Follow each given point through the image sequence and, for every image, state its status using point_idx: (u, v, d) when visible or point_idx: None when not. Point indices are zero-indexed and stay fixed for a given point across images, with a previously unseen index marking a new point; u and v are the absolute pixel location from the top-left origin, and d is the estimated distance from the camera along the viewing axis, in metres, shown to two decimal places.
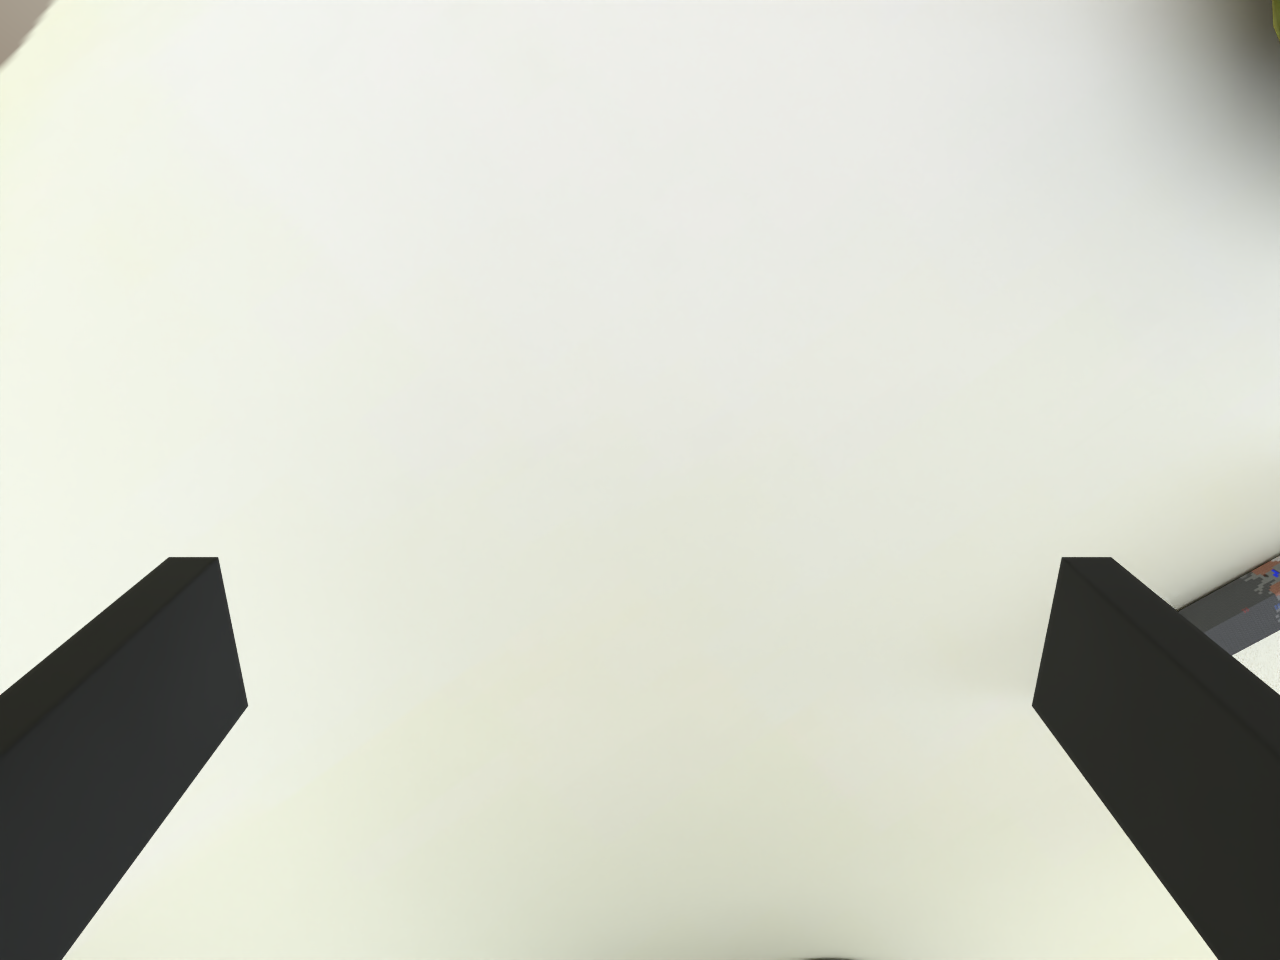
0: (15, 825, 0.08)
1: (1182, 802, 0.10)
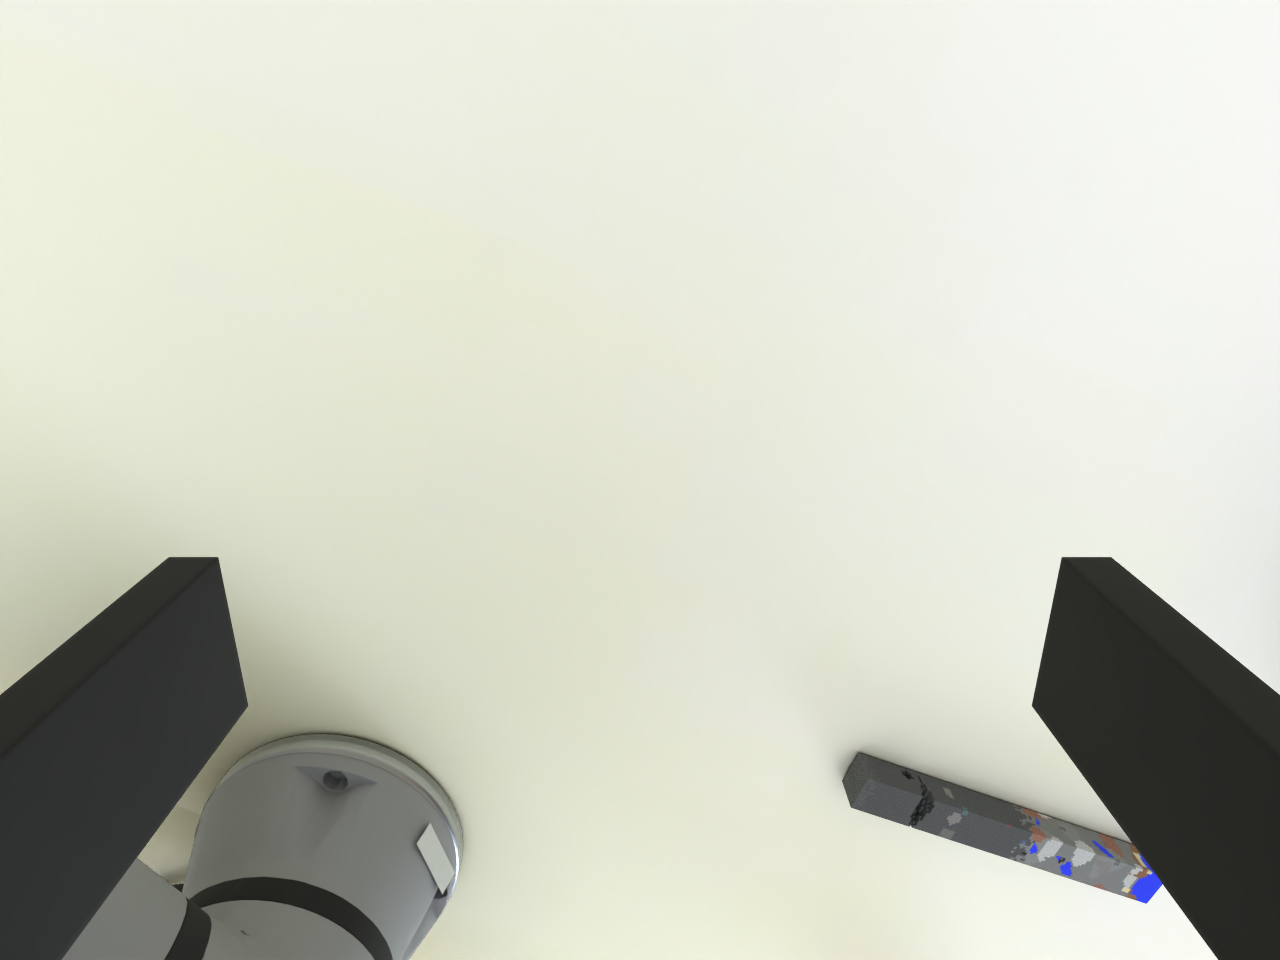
0: (15, 825, 0.08)
1: (1182, 802, 0.10)
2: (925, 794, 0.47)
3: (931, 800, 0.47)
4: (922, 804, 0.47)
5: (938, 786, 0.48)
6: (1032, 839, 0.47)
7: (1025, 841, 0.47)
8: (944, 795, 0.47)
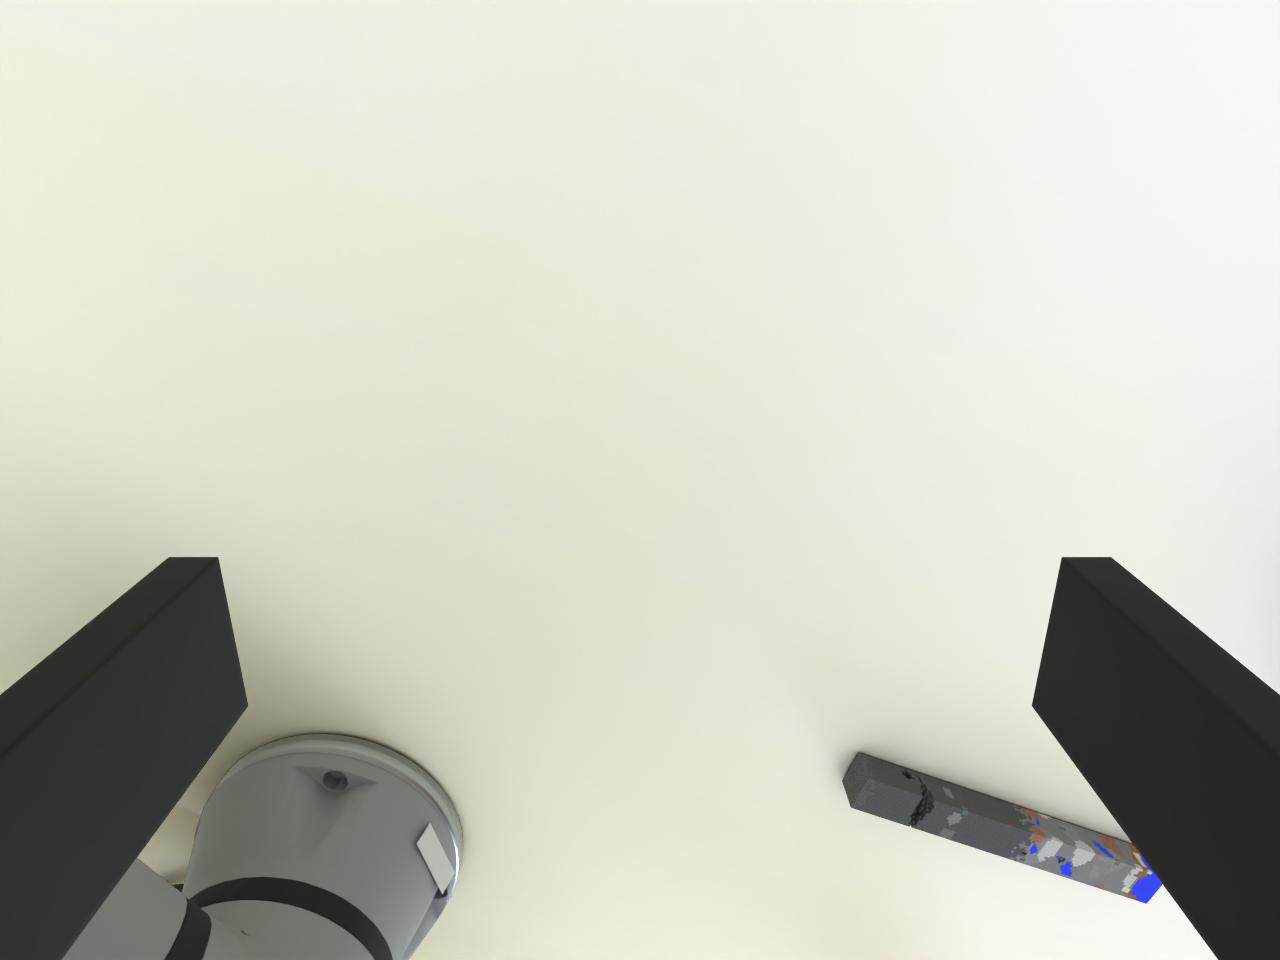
0: (15, 825, 0.08)
1: (1182, 802, 0.10)
2: (925, 794, 0.47)
3: (931, 800, 0.47)
4: (922, 804, 0.47)
5: (938, 786, 0.48)
6: (1032, 839, 0.47)
7: (1025, 841, 0.47)
8: (944, 795, 0.47)
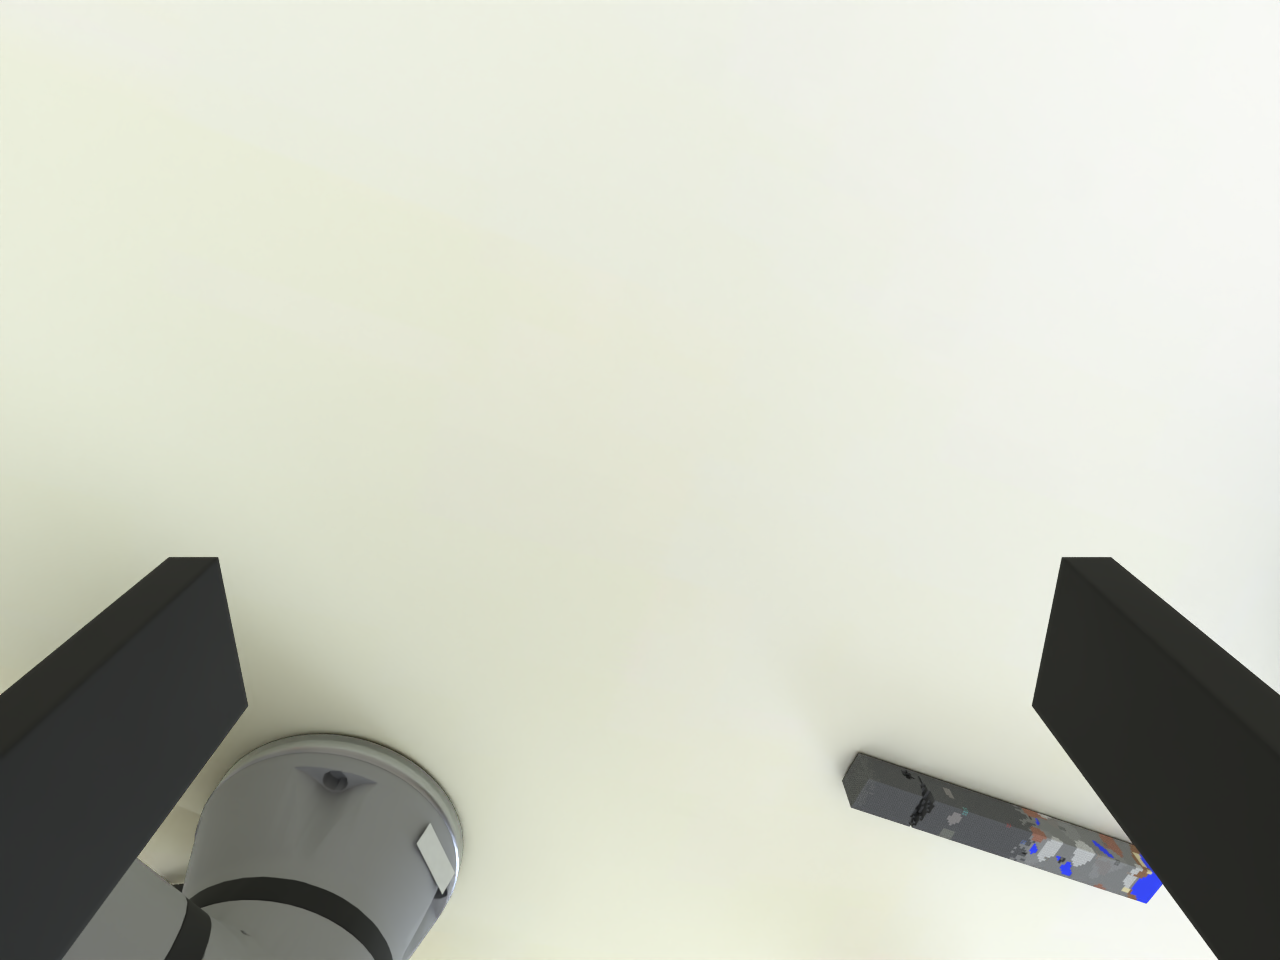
0: (15, 825, 0.08)
1: (1182, 802, 0.10)
2: (925, 794, 0.47)
3: (931, 800, 0.47)
4: (922, 804, 0.47)
5: (938, 786, 0.48)
6: (1032, 839, 0.47)
7: (1025, 841, 0.47)
8: (944, 795, 0.47)
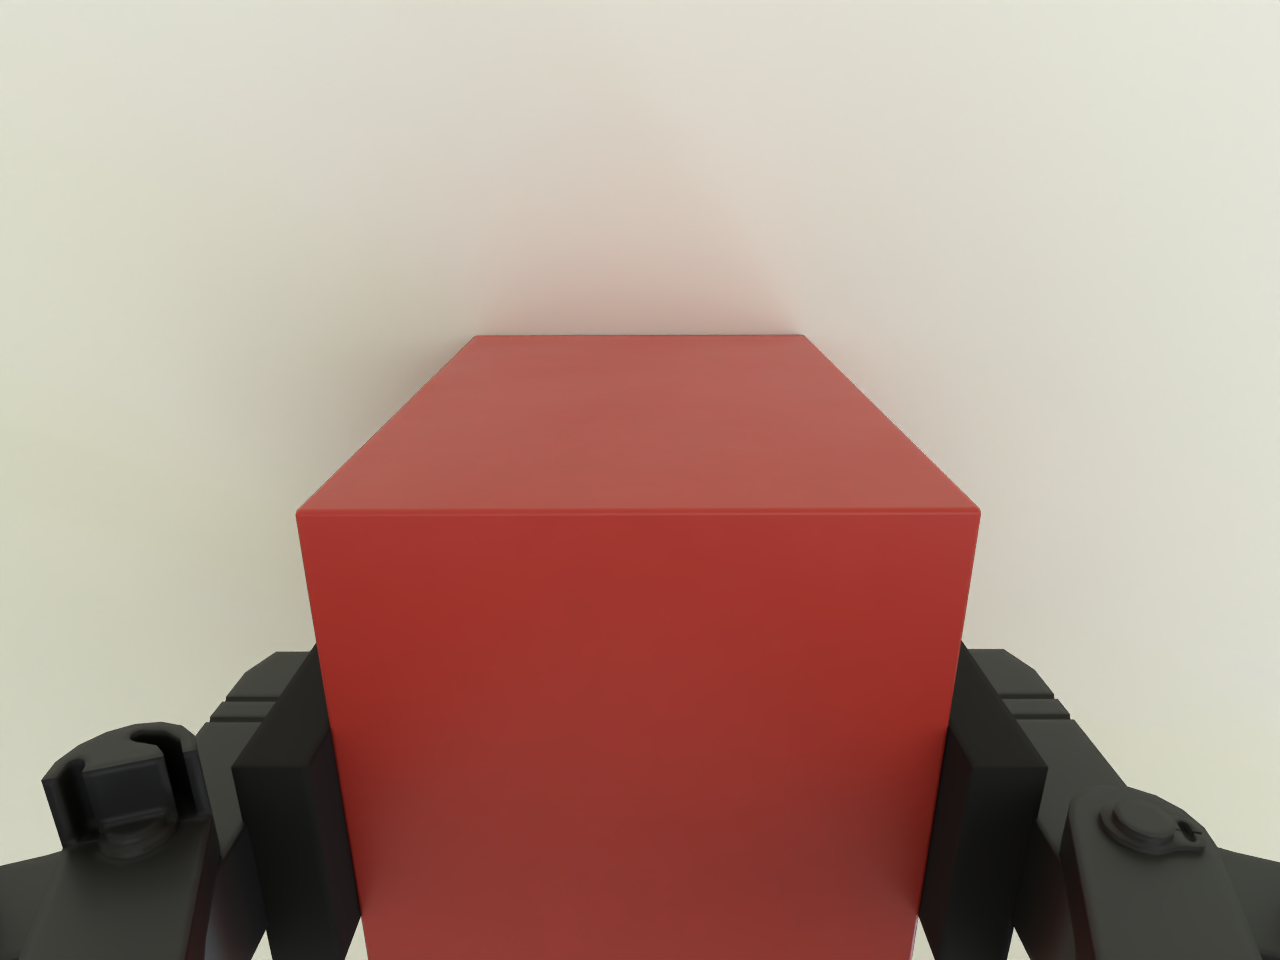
0: None
1: None
2: None
3: None
4: None
5: None
6: None
7: None
8: None
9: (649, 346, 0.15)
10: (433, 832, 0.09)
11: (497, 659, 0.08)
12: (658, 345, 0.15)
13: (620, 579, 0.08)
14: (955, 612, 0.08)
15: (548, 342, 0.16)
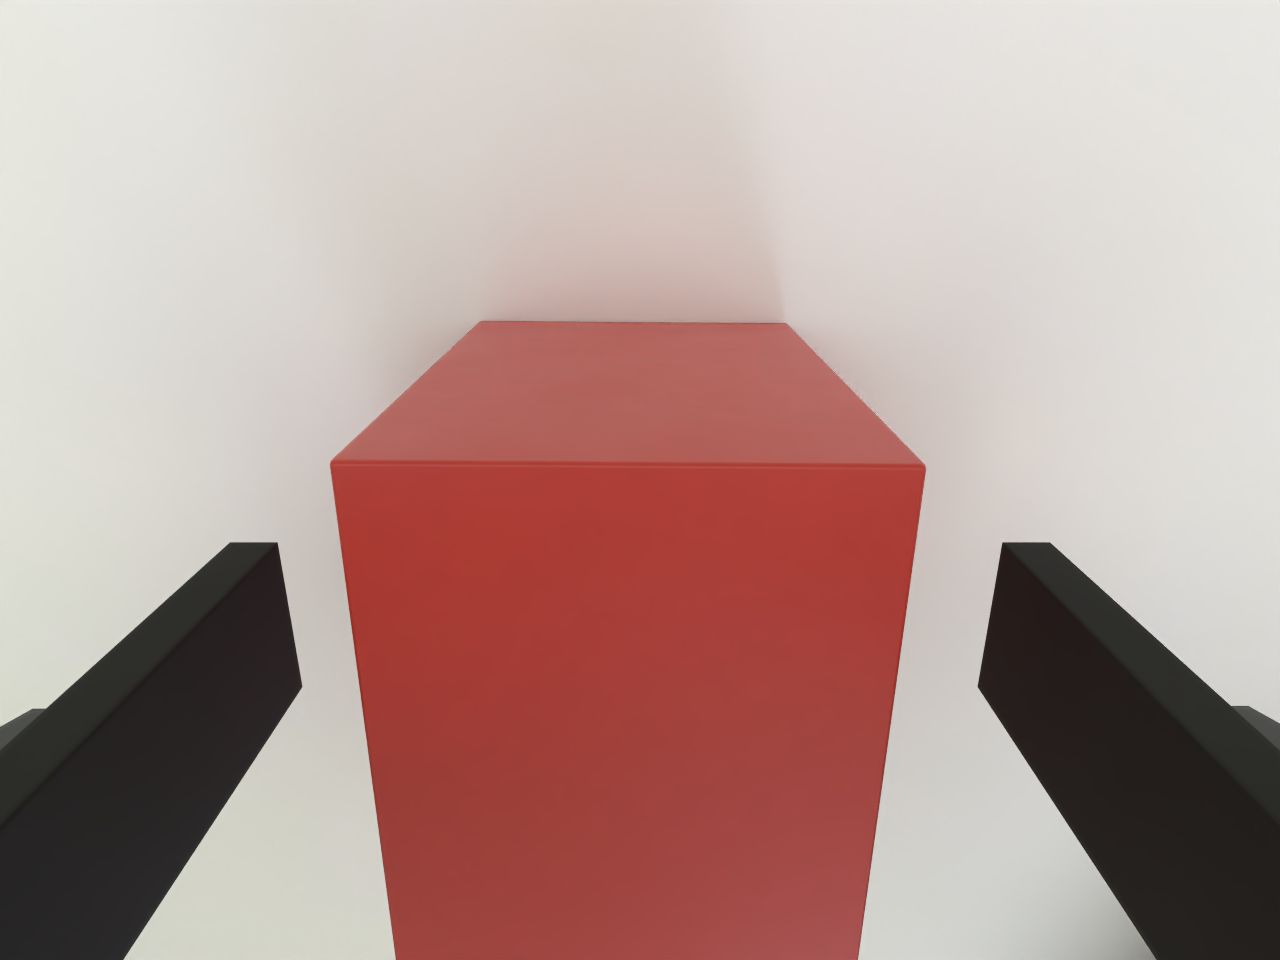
0: (113, 790, 0.09)
1: (1101, 772, 0.10)
2: None
3: None
4: None
5: None
6: None
7: None
8: None
9: (642, 332, 0.16)
10: (444, 752, 0.10)
11: (505, 595, 0.10)
12: (651, 331, 0.16)
13: (612, 525, 0.09)
14: (904, 557, 0.09)
15: (549, 327, 0.17)
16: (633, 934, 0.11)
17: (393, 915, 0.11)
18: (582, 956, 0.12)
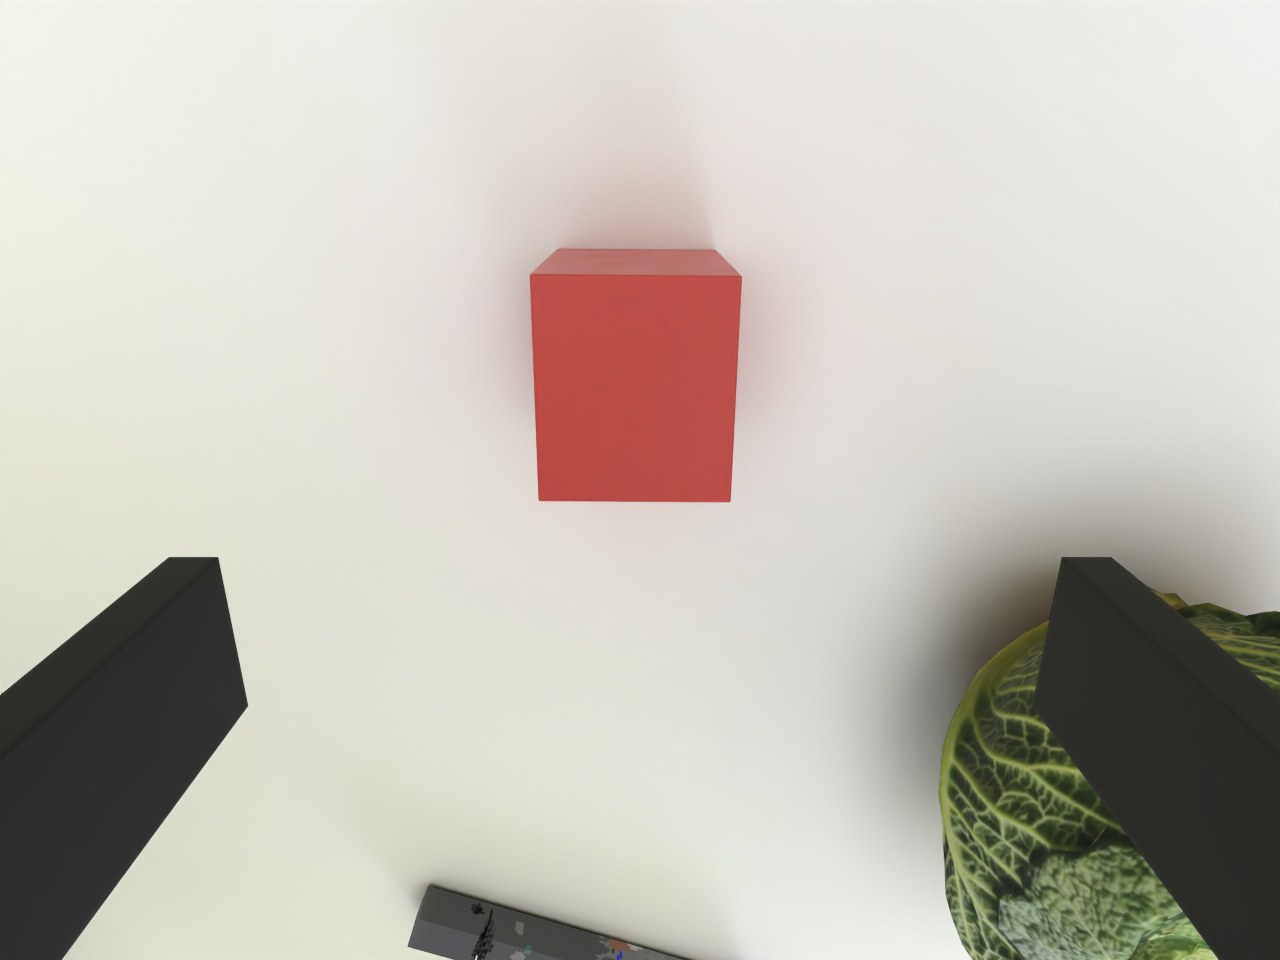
0: (16, 825, 0.08)
1: (1182, 802, 0.10)
2: (491, 931, 0.45)
3: (493, 938, 0.45)
4: (488, 940, 0.45)
5: (511, 920, 0.46)
6: None
7: None
8: (511, 932, 0.45)
9: (641, 252, 0.33)
10: (564, 396, 0.27)
11: (590, 327, 0.26)
12: (645, 251, 0.33)
13: (630, 299, 0.26)
14: (736, 312, 0.26)
15: (594, 250, 0.33)
16: (637, 484, 0.28)
17: (539, 475, 0.28)
18: (616, 495, 0.28)
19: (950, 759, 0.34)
